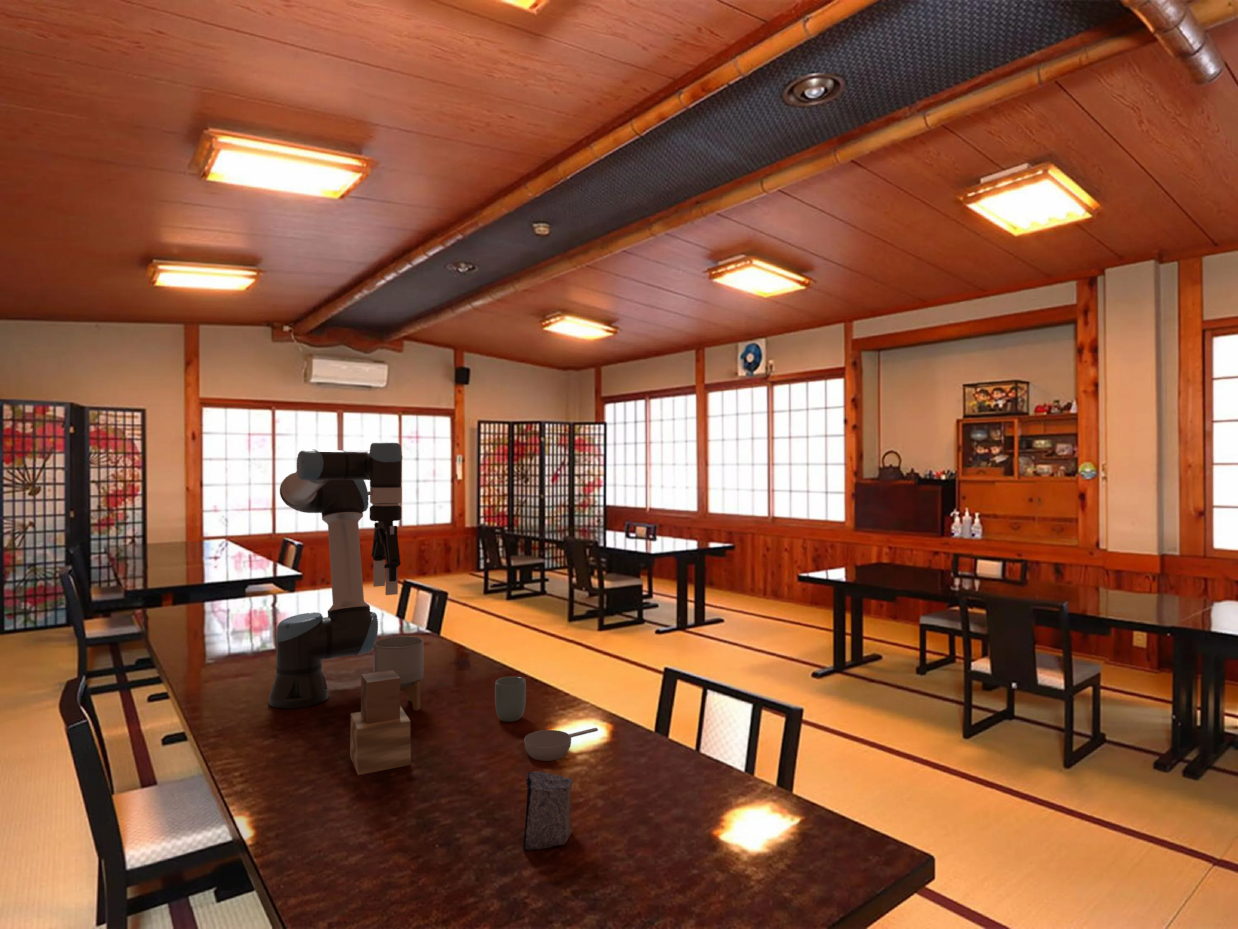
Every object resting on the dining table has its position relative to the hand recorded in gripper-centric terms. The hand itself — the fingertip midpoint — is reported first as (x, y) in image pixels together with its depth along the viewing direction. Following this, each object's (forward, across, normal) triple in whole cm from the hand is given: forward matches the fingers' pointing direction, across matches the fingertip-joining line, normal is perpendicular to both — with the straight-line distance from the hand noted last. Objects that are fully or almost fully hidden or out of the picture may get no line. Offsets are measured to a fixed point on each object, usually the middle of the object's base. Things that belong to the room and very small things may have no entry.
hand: (385, 590), depth 179 cm
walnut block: (+25, +18, -5) cm, 31 cm away
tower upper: (+30, +18, -5) cm, 35 cm away
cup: (+35, +8, +30) cm, 47 cm away
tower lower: (+35, +18, -5) cm, 40 cm away
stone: (+35, +67, +13) cm, 77 cm away
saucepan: (+35, +33, +33) cm, 58 cm away
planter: (+35, -16, +7) cm, 39 cm away
